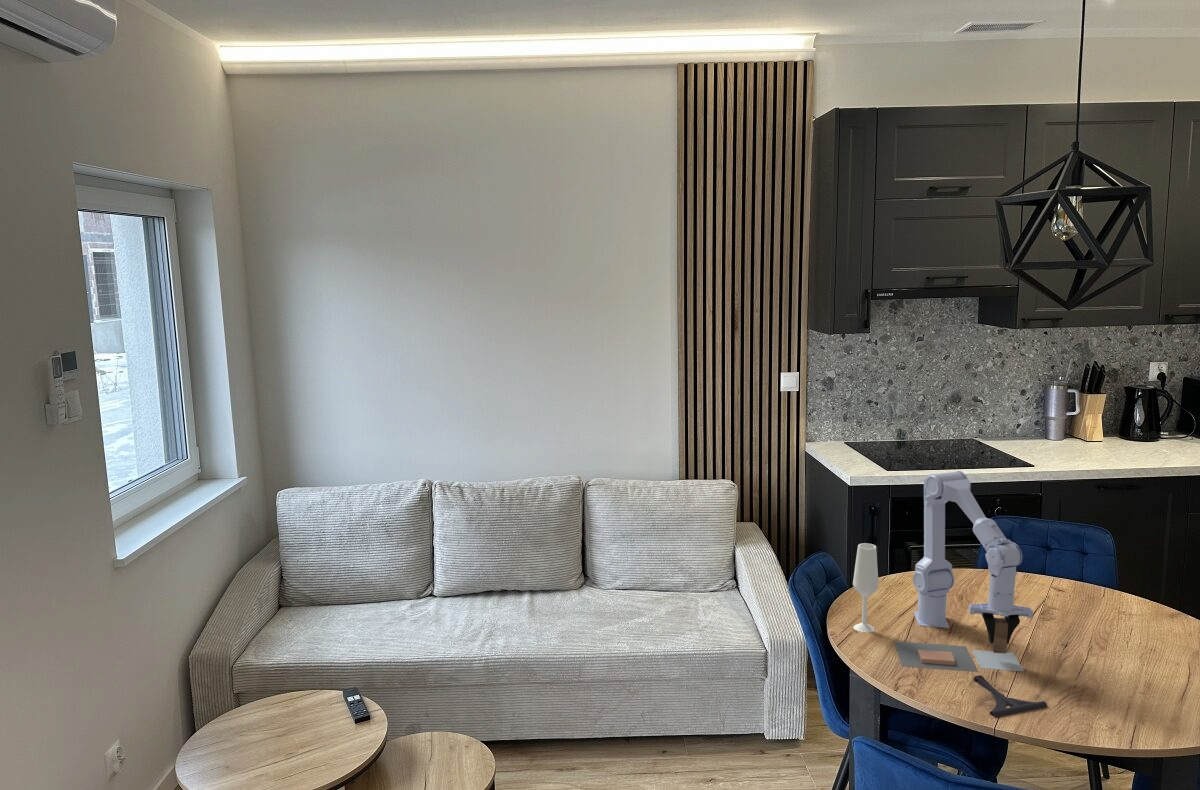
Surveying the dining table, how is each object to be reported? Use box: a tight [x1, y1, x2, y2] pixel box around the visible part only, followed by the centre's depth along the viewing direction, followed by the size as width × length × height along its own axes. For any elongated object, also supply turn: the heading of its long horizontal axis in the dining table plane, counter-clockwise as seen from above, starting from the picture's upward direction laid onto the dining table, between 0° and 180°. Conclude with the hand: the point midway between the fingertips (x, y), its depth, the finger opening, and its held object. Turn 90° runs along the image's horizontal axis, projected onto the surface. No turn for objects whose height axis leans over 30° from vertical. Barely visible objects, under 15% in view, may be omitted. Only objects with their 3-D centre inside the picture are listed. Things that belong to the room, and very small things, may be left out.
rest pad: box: [971, 649, 1025, 672], centre depth 217 cm, size 10×10×1 cm
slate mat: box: [894, 640, 979, 673], centre depth 220 cm, size 14×18×1 cm
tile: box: [918, 650, 955, 665], centre depth 218 cm, size 1×8×5 cm
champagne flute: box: [852, 542, 879, 634], centre depth 235 cm, size 7×7×24 cm
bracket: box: [973, 674, 1048, 718], centre depth 201 cm, size 14×15×3 cm
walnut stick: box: [990, 617, 1008, 653], centre depth 216 cm, size 3×3×8 cm
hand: (998, 641), depth 217 cm, fingers closed on walnut stick, 3 cm apart
